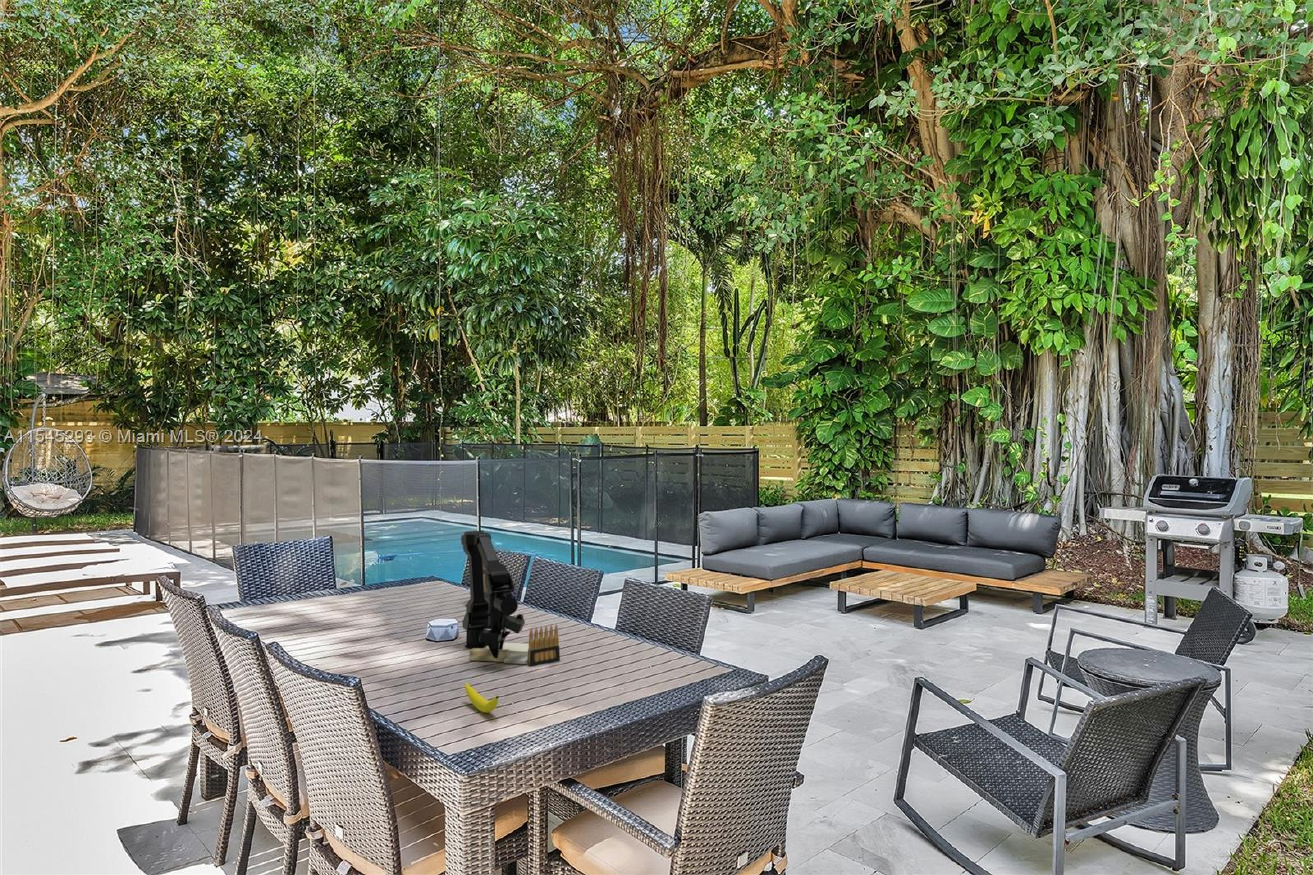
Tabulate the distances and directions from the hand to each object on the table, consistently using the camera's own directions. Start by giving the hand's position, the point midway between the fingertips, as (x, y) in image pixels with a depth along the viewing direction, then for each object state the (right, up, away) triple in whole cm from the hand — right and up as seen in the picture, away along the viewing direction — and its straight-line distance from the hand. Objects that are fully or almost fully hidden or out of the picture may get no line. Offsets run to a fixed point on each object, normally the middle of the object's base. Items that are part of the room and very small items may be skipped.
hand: (497, 656), depth 248 cm
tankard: (-19, -1, +76) cm, 78 cm away
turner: (+1, -1, 0) cm, 1 cm away
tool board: (+7, -1, +11) cm, 13 cm away
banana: (+5, -2, -43) cm, 43 cm away
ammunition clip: (+15, -2, -2) cm, 15 cm away
